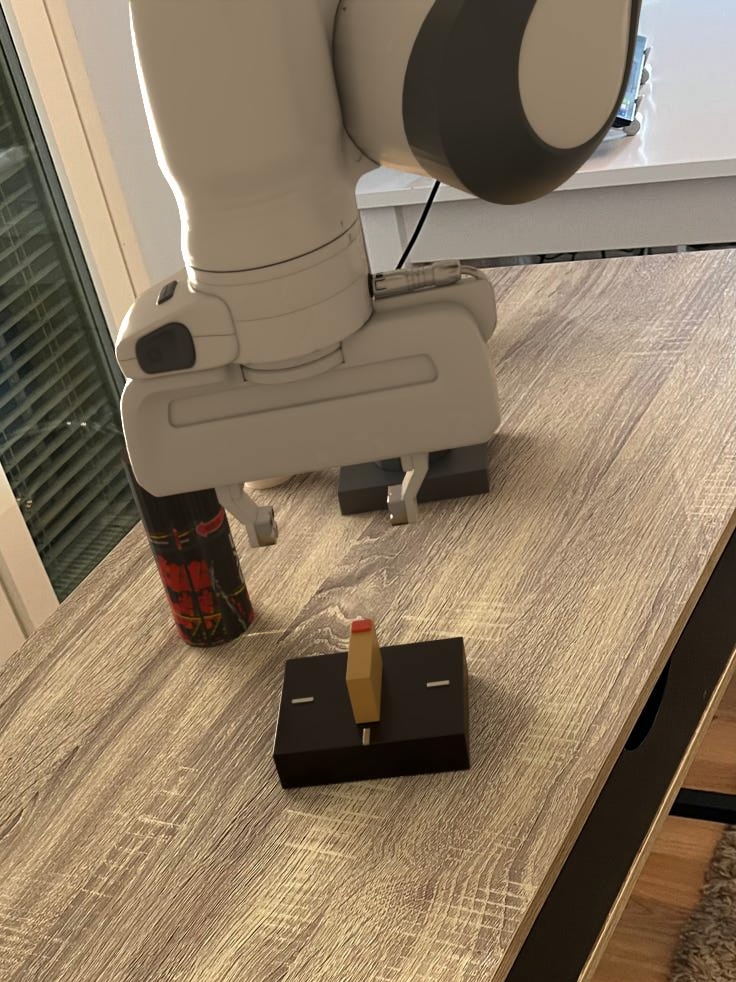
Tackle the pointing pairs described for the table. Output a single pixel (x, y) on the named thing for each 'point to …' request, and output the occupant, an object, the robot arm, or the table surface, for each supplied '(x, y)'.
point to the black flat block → (381, 744)
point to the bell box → (444, 480)
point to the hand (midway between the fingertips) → (334, 531)
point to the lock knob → (364, 671)
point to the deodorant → (195, 562)
